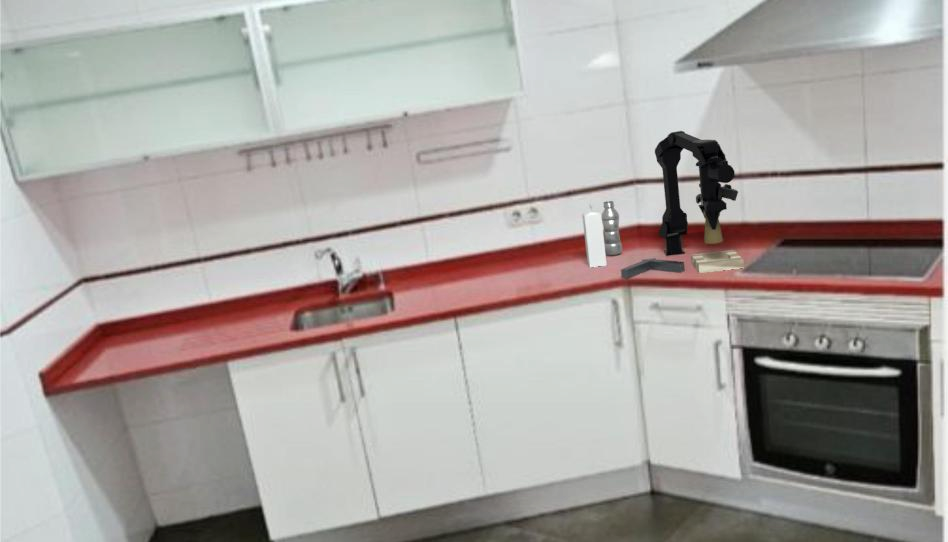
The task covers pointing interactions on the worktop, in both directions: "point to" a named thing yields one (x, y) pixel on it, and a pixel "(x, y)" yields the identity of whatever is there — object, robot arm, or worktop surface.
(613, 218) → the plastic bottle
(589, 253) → the milk
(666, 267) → the v-block
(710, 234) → the cork
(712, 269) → the cream wooden slatted block
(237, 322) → the worktop surface
